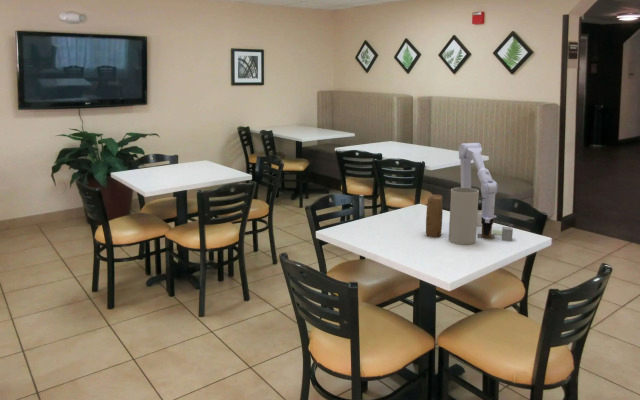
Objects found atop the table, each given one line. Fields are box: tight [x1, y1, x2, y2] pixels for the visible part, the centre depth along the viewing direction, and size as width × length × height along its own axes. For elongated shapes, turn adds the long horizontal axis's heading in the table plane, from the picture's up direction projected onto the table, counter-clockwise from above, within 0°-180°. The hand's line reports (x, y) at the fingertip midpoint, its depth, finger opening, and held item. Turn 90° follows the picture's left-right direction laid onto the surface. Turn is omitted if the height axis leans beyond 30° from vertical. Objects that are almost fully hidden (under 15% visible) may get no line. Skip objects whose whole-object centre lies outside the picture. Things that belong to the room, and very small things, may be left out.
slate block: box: [501, 226, 514, 242], centre depth 257 cm, size 4×4×6 cm
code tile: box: [477, 233, 496, 240], centre depth 263 cm, size 8×8×1 cm
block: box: [425, 194, 444, 238], centre depth 265 cm, size 11×8×20 cm
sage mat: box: [492, 229, 502, 236], centre depth 268 cm, size 8×8×1 cm
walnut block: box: [480, 225, 493, 238], centre depth 262 cm, size 4×4×6 cm
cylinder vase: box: [448, 187, 480, 246], centre depth 253 cm, size 12×12×25 cm
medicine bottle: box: [477, 201, 482, 227], centre depth 283 cm, size 7×7×12 cm
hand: (486, 233), depth 262 cm, fingers closed on walnut block, 4 cm apart
